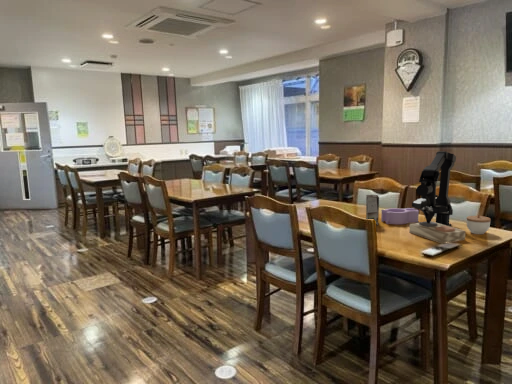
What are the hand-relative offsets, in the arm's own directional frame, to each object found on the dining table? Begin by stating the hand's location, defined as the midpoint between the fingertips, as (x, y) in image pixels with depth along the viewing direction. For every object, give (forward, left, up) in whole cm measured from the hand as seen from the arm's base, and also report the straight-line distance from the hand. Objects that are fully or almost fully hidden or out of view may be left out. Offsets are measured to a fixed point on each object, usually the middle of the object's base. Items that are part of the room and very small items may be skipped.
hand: (428, 222), depth 199 cm
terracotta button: (0, +11, -4) cm, 12 cm away
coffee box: (+12, -30, -6) cm, 33 cm away
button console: (0, +6, -6) cm, 8 cm away
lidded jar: (-23, +10, -6) cm, 26 cm away
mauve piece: (-5, -27, -6) cm, 28 cm away
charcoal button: (0, 0, -4) cm, 4 cm away
